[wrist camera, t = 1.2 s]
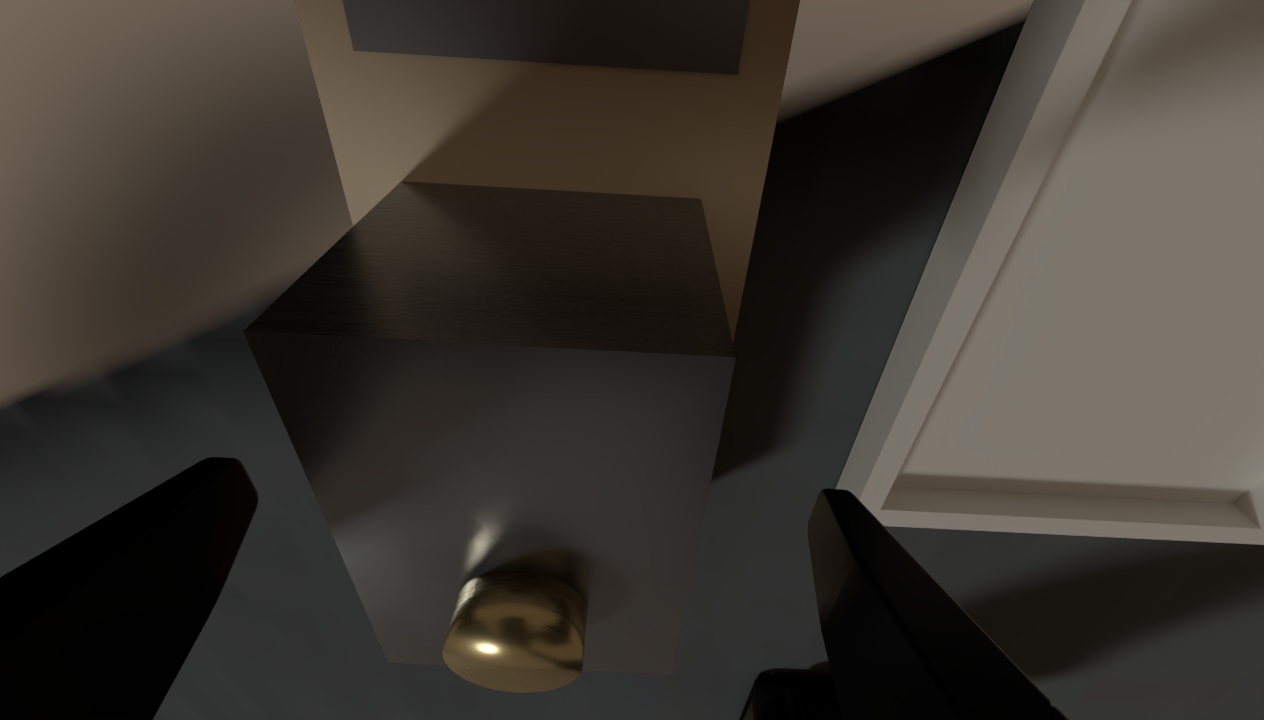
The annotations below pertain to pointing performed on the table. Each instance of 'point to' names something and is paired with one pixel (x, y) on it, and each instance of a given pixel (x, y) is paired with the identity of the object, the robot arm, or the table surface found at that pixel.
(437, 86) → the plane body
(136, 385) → the table surface
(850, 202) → the table surface
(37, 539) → the table surface
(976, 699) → the robot arm
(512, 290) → the dark grey block
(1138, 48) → the parts tray
